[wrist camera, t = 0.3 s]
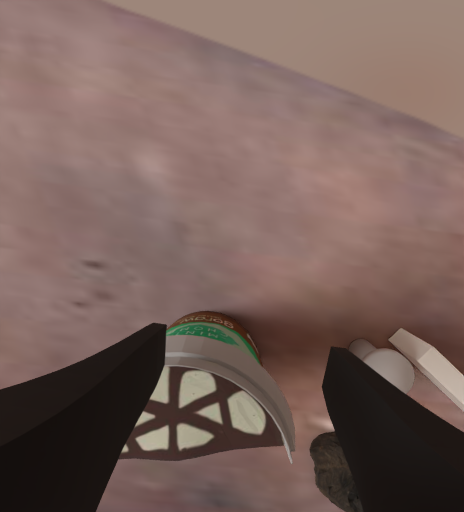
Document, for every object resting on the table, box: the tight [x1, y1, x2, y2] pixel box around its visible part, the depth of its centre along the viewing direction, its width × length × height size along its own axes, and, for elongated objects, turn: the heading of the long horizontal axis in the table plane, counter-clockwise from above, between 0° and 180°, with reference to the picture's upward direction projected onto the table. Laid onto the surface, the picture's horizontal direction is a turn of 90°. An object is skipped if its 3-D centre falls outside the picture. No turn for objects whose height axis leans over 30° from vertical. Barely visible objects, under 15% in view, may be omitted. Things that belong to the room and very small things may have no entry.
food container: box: [118, 311, 295, 464], centre depth 16 cm, size 12×6×10 cm, turn 98°
